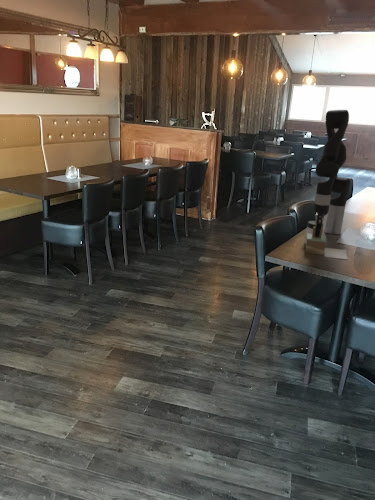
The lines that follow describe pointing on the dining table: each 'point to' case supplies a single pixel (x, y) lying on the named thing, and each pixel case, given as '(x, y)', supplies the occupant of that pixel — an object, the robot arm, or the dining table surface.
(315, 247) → the box
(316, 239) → the lid
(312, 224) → the jar
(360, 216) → the dining table surface
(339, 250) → the mat
